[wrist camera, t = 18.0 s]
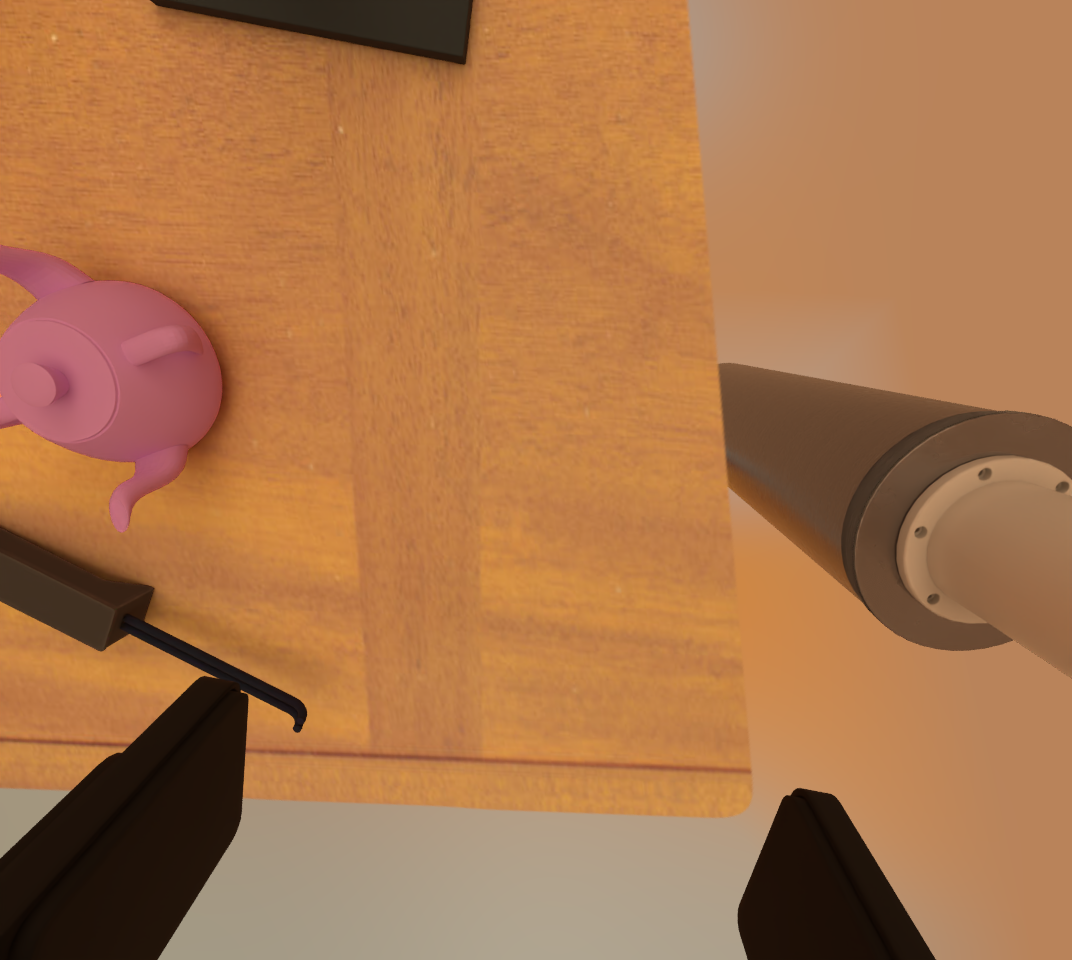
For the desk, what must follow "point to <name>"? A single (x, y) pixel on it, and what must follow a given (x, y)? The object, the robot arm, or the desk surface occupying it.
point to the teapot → (107, 372)
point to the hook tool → (107, 614)
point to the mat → (356, 21)
